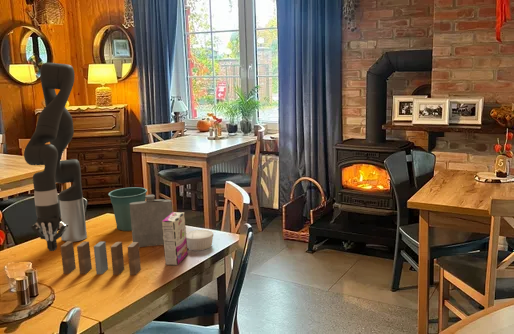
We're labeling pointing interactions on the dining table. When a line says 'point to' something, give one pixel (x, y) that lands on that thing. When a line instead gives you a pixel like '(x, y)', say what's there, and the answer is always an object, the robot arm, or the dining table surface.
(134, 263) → the domino
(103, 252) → the domino
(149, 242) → the hip flask
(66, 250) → the domino
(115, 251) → the domino
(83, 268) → the domino
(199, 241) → the ramekin
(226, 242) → the dining table surface
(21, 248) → the dining table surface
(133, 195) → the flower pot
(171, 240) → the candy bar box
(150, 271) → the dining table surface
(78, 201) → the robot arm
